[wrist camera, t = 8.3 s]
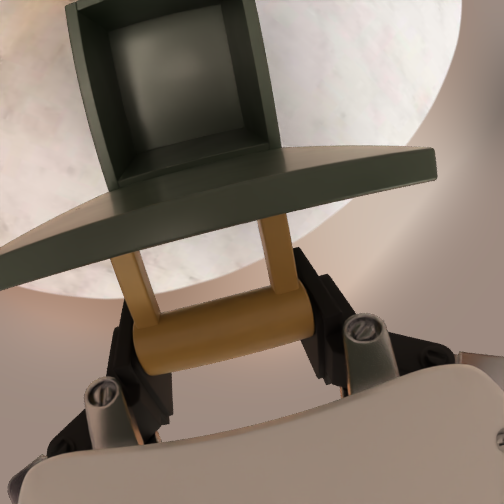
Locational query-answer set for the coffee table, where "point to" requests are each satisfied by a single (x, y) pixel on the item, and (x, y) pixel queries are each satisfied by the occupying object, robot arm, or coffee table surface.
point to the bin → (171, 84)
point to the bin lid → (207, 220)
